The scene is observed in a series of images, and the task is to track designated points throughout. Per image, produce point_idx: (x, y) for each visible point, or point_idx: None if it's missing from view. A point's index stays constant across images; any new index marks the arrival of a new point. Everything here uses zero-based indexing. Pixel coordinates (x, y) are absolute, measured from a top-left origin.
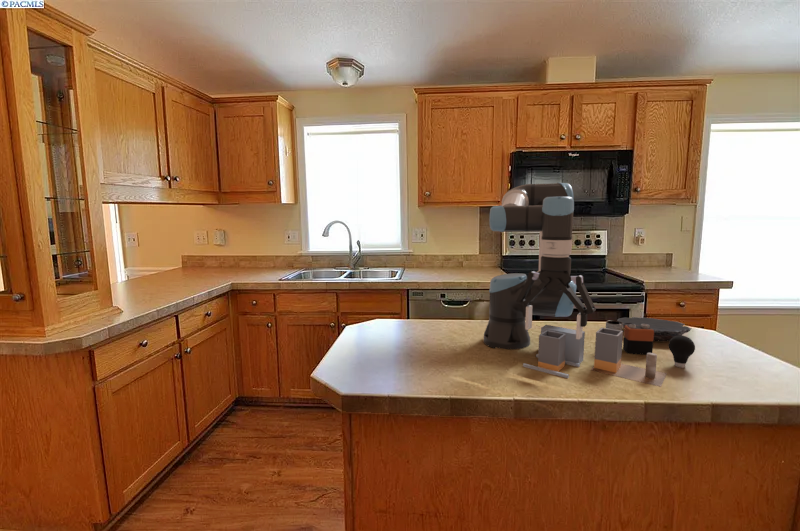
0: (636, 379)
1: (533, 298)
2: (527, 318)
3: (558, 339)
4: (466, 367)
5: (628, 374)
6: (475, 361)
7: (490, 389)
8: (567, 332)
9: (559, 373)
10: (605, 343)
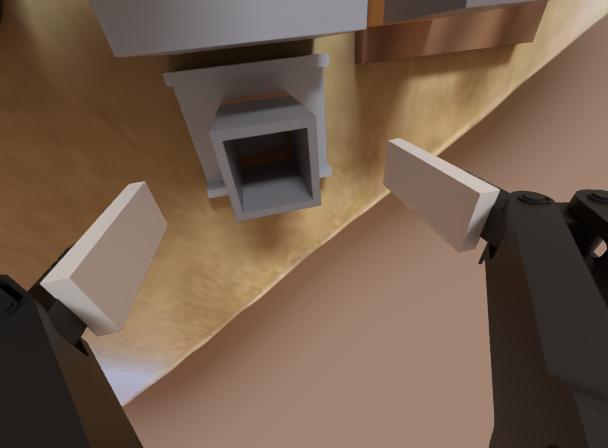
0: (482, 35)
1: (109, 397)
2: (145, 267)
3: (317, 204)
4: None
5: None
6: (71, 228)
7: (233, 288)
8: (291, 32)
9: None
10: (470, 10)
